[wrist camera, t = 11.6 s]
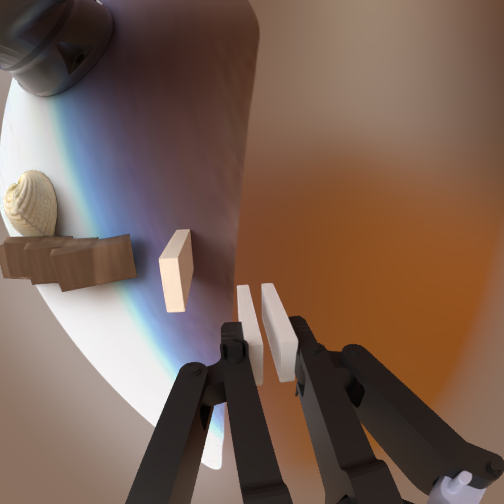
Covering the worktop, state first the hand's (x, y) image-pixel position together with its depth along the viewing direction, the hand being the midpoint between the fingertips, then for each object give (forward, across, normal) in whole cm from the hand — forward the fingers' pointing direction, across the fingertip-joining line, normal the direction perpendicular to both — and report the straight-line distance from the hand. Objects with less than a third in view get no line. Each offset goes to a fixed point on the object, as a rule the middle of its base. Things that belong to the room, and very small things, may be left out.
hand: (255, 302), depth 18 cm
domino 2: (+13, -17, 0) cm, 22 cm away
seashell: (+15, -27, +7) cm, 32 cm away
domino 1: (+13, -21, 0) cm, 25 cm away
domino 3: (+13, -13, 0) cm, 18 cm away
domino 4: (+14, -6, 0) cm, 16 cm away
